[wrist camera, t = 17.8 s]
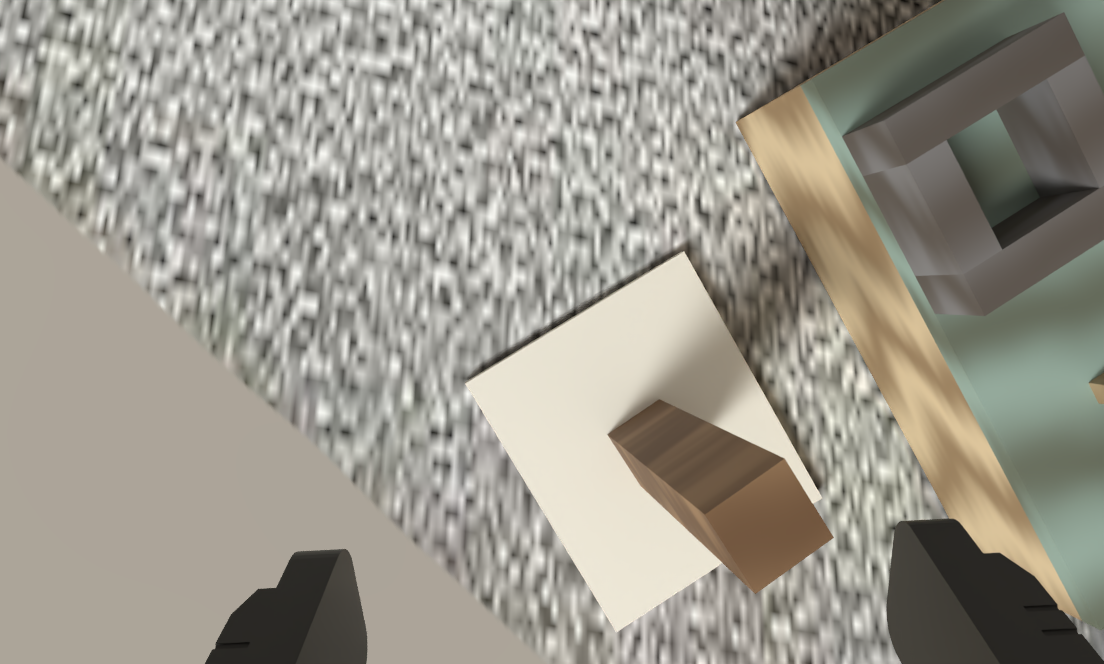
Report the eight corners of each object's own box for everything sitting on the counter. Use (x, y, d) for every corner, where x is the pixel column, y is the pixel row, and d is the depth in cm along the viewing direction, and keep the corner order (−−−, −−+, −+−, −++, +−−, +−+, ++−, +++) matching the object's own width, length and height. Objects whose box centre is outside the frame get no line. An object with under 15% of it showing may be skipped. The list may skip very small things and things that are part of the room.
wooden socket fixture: (735, 122, 39) (939, 7, 23) (968, -16, 41) (1310, -213, 25) (975, 567, 42) (1300, 731, 26) (1185, 424, 44) (1614, 500, 28)
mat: (464, 382, 38) (465, 383, 37) (680, 252, 39) (684, 251, 39) (613, 627, 40) (616, 632, 39) (816, 495, 41) (822, 498, 40)
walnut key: (607, 434, 38) (704, 514, 25) (659, 399, 39) (784, 458, 25) (640, 486, 39) (755, 593, 25) (692, 450, 39) (833, 537, 25)
